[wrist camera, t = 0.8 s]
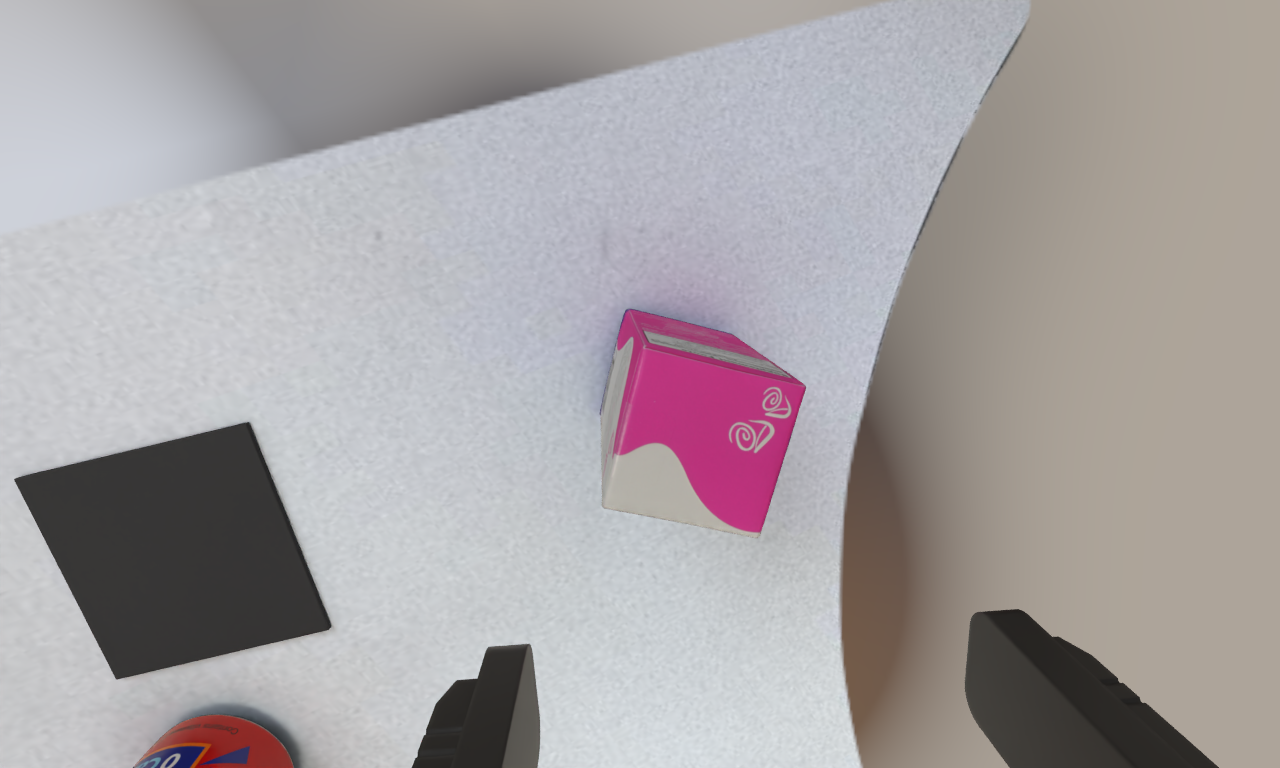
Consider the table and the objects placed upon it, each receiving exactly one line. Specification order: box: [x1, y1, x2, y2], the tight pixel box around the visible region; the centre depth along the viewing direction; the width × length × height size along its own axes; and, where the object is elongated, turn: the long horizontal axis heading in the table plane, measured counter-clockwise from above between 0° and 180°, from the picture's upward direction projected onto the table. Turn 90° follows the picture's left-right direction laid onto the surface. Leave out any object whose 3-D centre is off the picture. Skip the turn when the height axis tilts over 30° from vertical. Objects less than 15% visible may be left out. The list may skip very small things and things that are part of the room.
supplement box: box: [600, 309, 806, 538], centre depth 25 cm, size 6×6×12 cm
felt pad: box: [14, 422, 331, 679], centre depth 32 cm, size 12×12×1 cm
